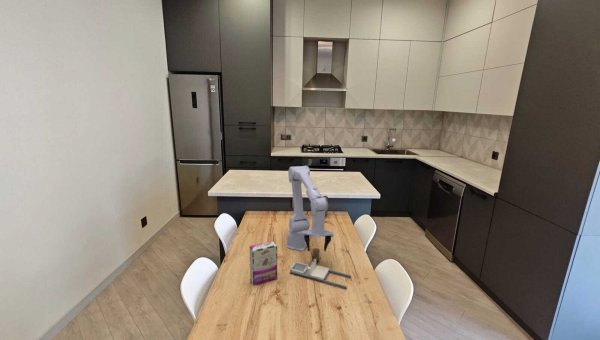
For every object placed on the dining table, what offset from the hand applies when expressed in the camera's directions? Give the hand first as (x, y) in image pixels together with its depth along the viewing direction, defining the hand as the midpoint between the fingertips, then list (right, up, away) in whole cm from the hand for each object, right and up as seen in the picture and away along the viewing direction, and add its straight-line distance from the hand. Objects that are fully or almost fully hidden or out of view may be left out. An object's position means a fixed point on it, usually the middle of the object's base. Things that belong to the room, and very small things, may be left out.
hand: (316, 250), depth 132 cm
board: (+1, -10, -4) cm, 11 cm away
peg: (0, -7, +7) cm, 10 cm away
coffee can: (+6, +5, +62) cm, 62 cm away
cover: (+1, -9, -4) cm, 10 cm away
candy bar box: (-24, -11, -8) cm, 27 cm away
